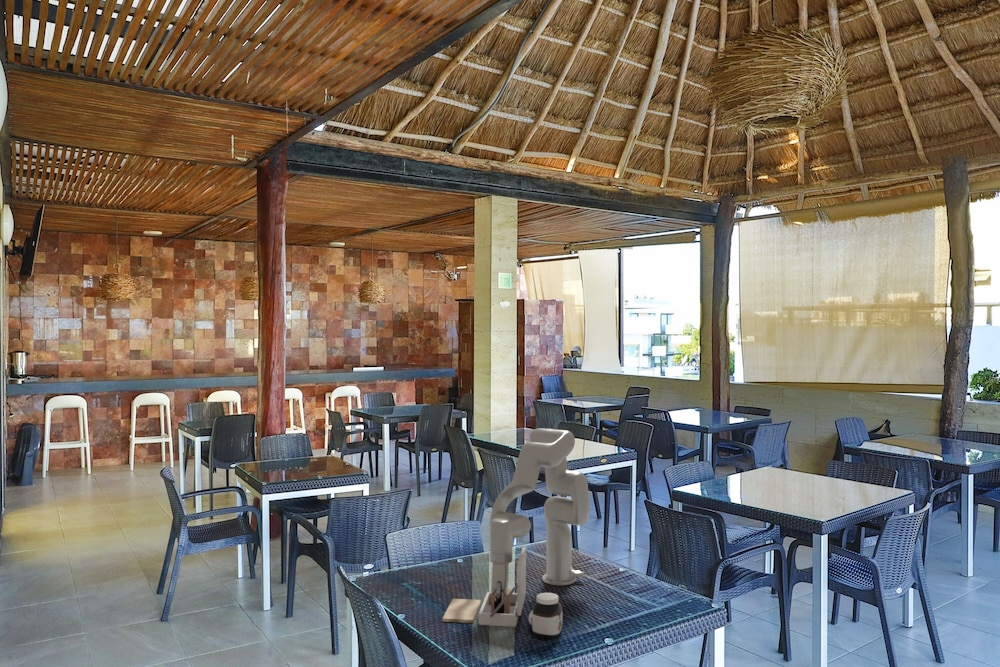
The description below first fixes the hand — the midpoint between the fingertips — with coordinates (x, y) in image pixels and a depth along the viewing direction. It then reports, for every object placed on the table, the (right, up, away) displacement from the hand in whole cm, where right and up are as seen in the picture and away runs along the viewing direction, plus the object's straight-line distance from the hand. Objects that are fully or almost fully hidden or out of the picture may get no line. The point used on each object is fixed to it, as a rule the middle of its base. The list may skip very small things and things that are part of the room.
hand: (500, 608), depth 235 cm
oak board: (-13, -2, +2) cm, 13 cm away
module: (0, -1, 0) cm, 1 cm away
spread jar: (+13, -2, -15) cm, 20 cm away
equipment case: (0, -2, 0) cm, 2 cm away
